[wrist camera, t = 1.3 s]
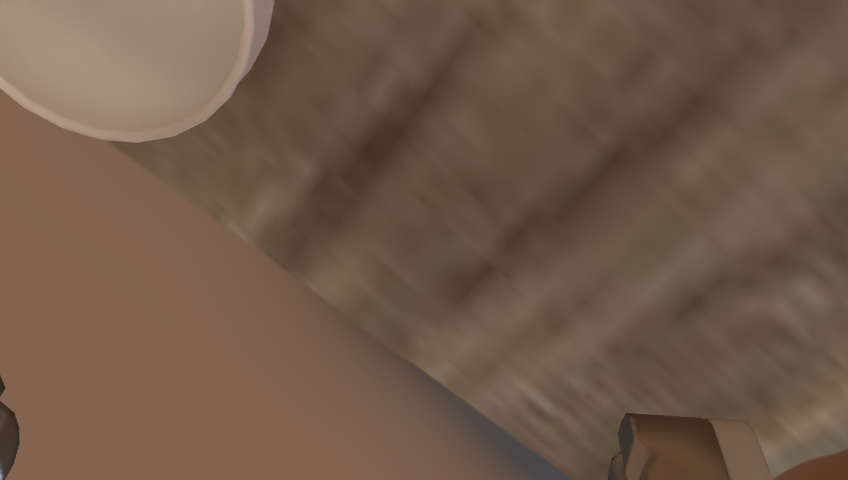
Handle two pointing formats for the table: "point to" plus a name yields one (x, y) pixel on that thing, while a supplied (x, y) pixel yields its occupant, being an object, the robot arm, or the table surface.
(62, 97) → the flower pot
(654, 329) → the table surface
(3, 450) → the robot arm
